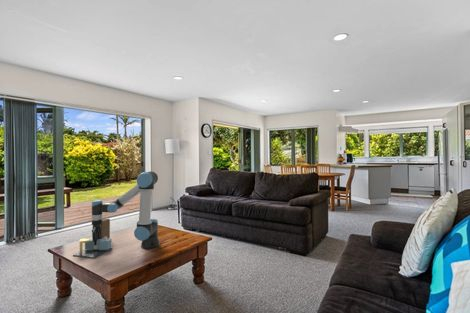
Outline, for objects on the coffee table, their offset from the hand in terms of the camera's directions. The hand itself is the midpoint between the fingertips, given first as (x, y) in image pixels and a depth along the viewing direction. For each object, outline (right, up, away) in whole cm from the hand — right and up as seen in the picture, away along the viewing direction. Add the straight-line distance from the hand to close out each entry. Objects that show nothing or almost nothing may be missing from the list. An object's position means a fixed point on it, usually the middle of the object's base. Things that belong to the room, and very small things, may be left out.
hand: (96, 248), depth 201 cm
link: (+1, 0, 0) cm, 1 cm away
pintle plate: (-1, -2, -4) cm, 4 cm away
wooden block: (-7, -2, +20) cm, 22 cm away
